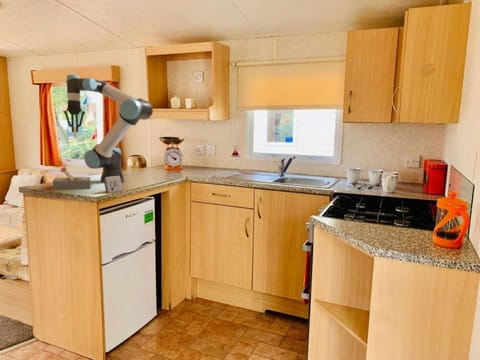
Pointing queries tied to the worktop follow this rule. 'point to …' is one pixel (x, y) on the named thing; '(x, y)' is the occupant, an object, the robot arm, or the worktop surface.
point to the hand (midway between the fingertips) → (75, 137)
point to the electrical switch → (113, 184)
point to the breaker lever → (67, 173)
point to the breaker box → (71, 183)
